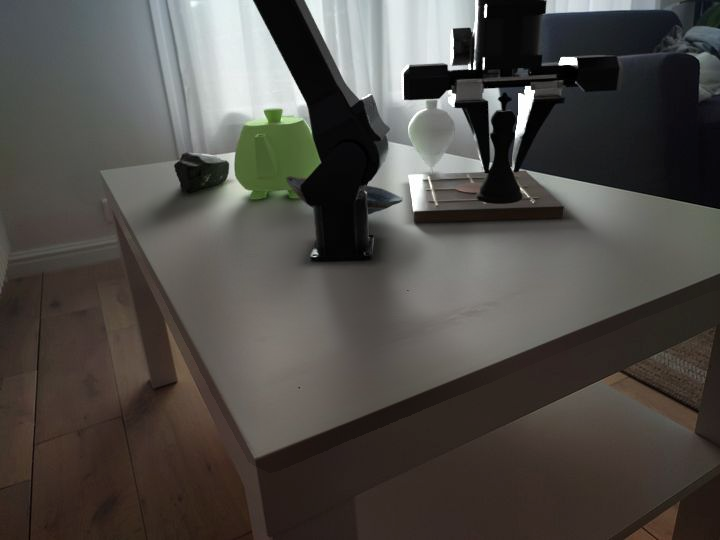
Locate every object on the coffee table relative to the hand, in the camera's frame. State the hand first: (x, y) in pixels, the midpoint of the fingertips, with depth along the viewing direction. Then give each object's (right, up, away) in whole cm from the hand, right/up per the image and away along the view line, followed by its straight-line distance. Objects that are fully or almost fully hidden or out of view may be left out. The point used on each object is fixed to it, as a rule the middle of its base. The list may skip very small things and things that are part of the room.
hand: (500, 172), depth 51 cm
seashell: (-16, -3, +17) cm, 24 cm away
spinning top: (-2, +7, +39) cm, 39 cm away
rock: (-40, +5, +39) cm, 55 cm away
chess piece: (0, -3, +1) cm, 3 cm away
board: (+2, 0, +23) cm, 23 cm away
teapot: (-26, +3, +32) cm, 41 cm away
